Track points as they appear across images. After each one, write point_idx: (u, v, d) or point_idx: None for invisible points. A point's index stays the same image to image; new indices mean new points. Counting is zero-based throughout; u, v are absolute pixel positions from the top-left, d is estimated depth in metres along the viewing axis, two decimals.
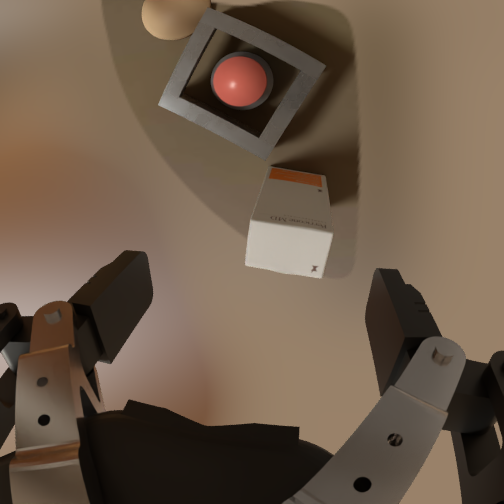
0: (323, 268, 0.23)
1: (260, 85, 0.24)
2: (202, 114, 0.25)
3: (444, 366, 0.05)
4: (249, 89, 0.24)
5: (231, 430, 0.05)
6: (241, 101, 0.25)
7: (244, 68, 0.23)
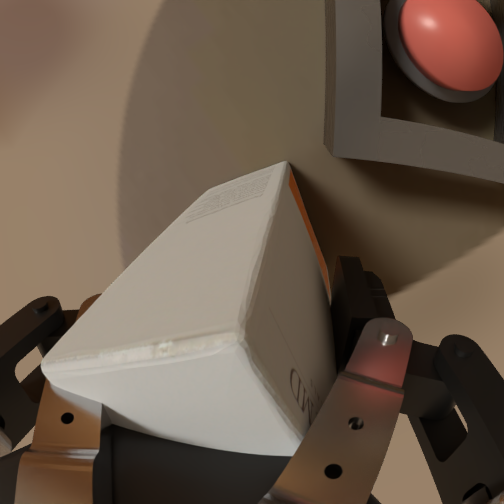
0: None
1: (471, 79, 0.08)
2: None
3: (387, 345, 0.06)
4: (455, 59, 0.08)
5: None
6: (425, 48, 0.08)
7: (484, 40, 0.07)
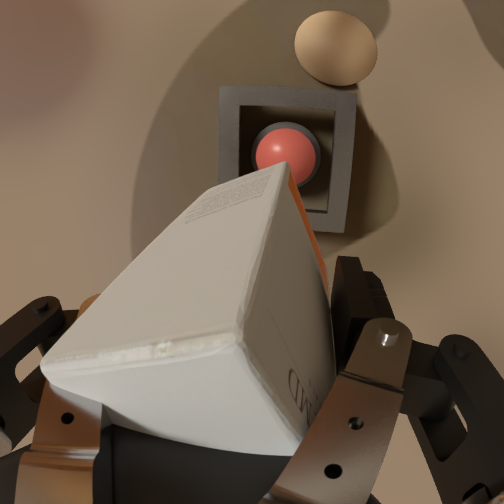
0: None
1: None
2: (232, 140, 0.22)
3: (387, 345, 0.06)
4: None
5: None
6: None
7: (302, 156, 0.23)
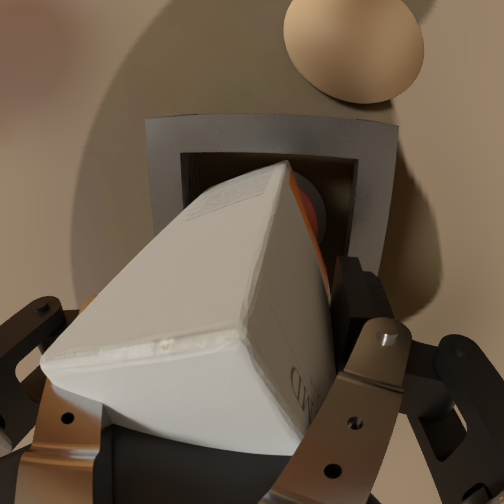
0: None
1: None
2: (173, 214, 0.13)
3: (386, 344, 0.06)
4: None
5: None
6: None
7: None
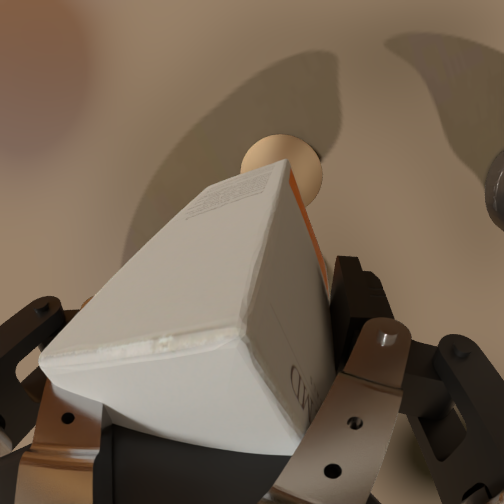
0: None
1: None
2: None
3: (386, 344, 0.06)
4: None
5: None
6: None
7: None
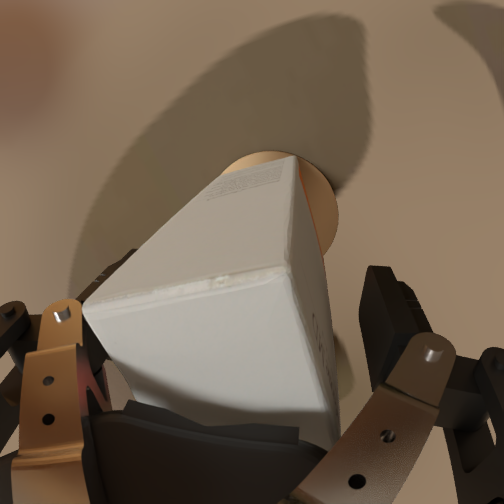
0: None
1: None
2: None
3: (434, 361, 0.05)
4: None
5: (231, 431, 0.05)
6: None
7: None
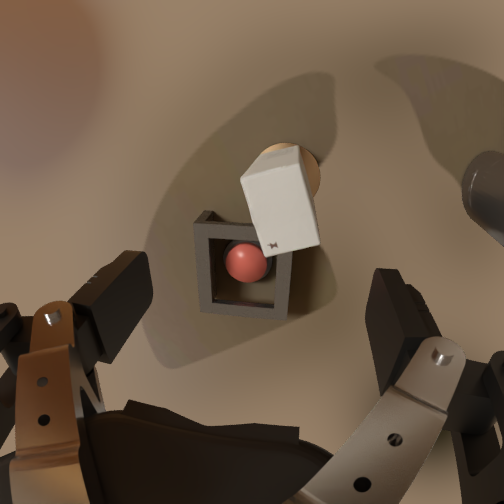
0: (277, 253, 0.22)
1: (250, 278, 0.36)
2: (205, 260, 0.33)
3: (444, 366, 0.05)
4: (243, 273, 0.36)
5: (231, 431, 0.05)
6: (232, 271, 0.36)
7: (257, 264, 0.35)
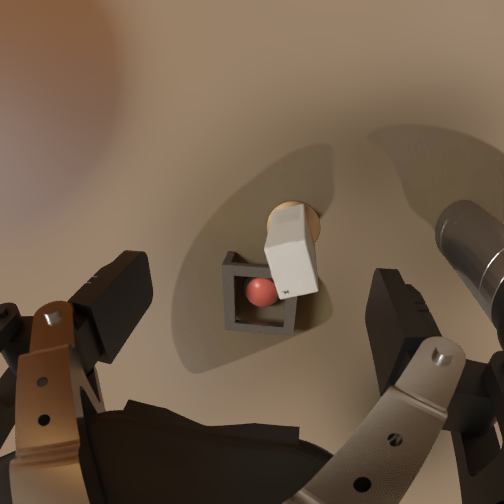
0: (289, 297, 0.32)
1: (265, 303, 0.45)
2: (230, 292, 0.43)
3: (444, 366, 0.05)
4: (259, 299, 0.45)
5: (231, 430, 0.05)
6: (250, 298, 0.45)
7: (270, 293, 0.45)
